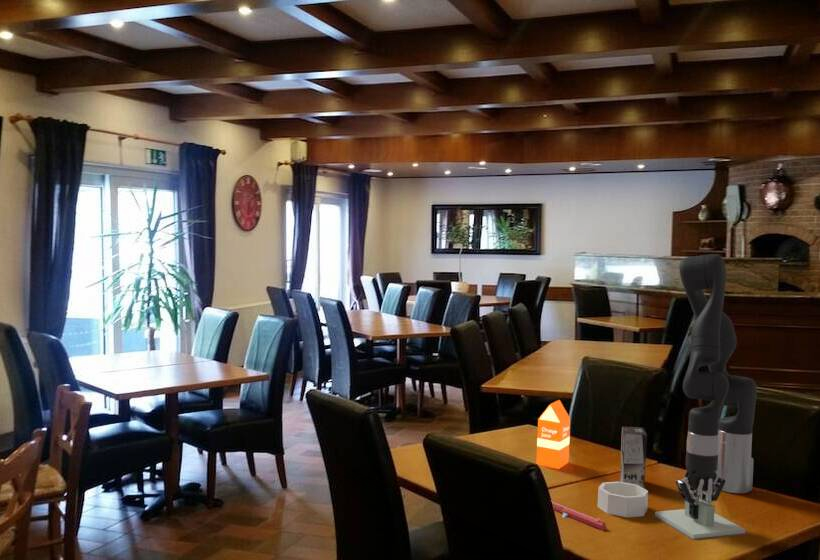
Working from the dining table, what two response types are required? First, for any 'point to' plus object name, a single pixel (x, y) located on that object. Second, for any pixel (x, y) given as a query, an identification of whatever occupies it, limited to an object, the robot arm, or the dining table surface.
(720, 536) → the mat
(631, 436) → the coffee box
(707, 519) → the cover
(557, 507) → the red piece
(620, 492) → the bowl
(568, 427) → the orange juice
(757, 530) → the dining table surface
